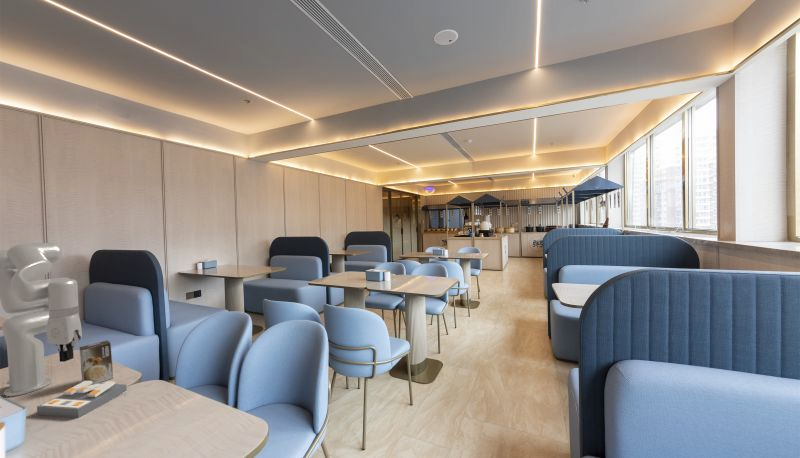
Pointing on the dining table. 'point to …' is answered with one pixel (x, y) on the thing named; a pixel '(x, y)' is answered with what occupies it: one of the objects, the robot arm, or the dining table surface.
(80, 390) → the rocker
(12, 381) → the robot arm
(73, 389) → the rocker
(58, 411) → the switch unit
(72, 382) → the dining table surface
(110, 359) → the coffee box
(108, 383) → the rocker
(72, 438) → the dining table surface
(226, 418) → the dining table surface
